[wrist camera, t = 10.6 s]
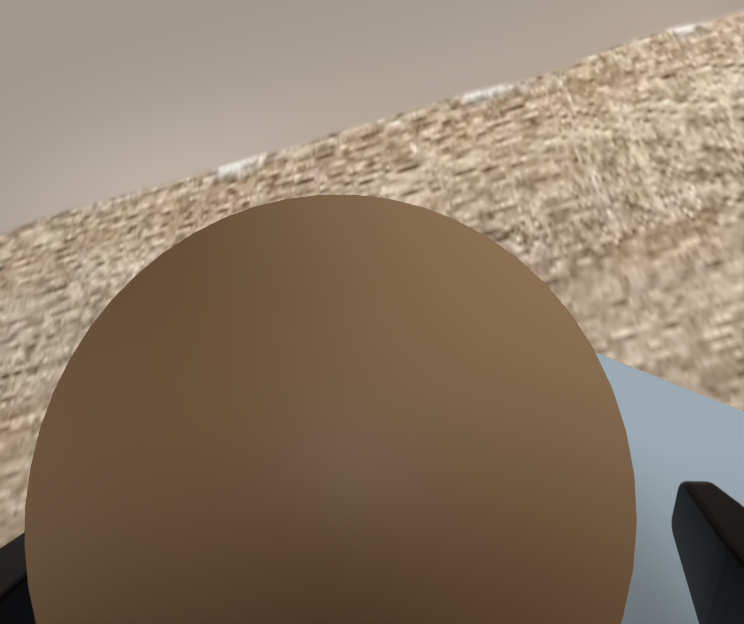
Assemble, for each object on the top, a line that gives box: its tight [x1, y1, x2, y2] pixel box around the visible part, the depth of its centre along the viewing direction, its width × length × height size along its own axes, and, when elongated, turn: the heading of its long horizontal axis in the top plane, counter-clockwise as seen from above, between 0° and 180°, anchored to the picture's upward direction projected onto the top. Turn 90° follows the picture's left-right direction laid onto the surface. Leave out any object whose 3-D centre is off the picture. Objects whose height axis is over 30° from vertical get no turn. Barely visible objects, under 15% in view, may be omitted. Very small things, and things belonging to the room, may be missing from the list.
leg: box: [25, 195, 637, 624], centre depth 10 cm, size 4×4×13 cm
